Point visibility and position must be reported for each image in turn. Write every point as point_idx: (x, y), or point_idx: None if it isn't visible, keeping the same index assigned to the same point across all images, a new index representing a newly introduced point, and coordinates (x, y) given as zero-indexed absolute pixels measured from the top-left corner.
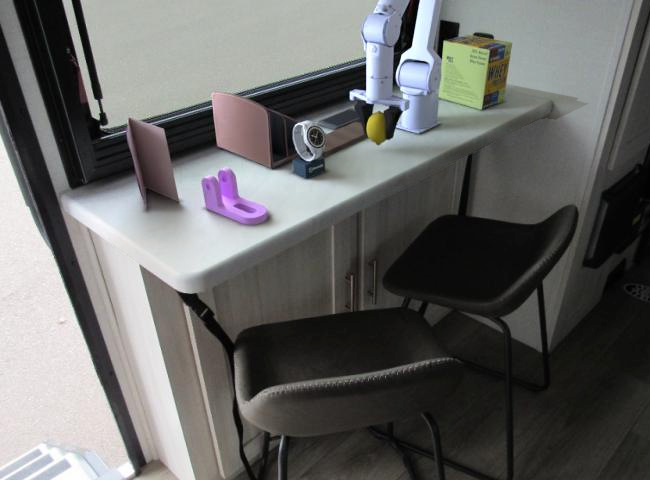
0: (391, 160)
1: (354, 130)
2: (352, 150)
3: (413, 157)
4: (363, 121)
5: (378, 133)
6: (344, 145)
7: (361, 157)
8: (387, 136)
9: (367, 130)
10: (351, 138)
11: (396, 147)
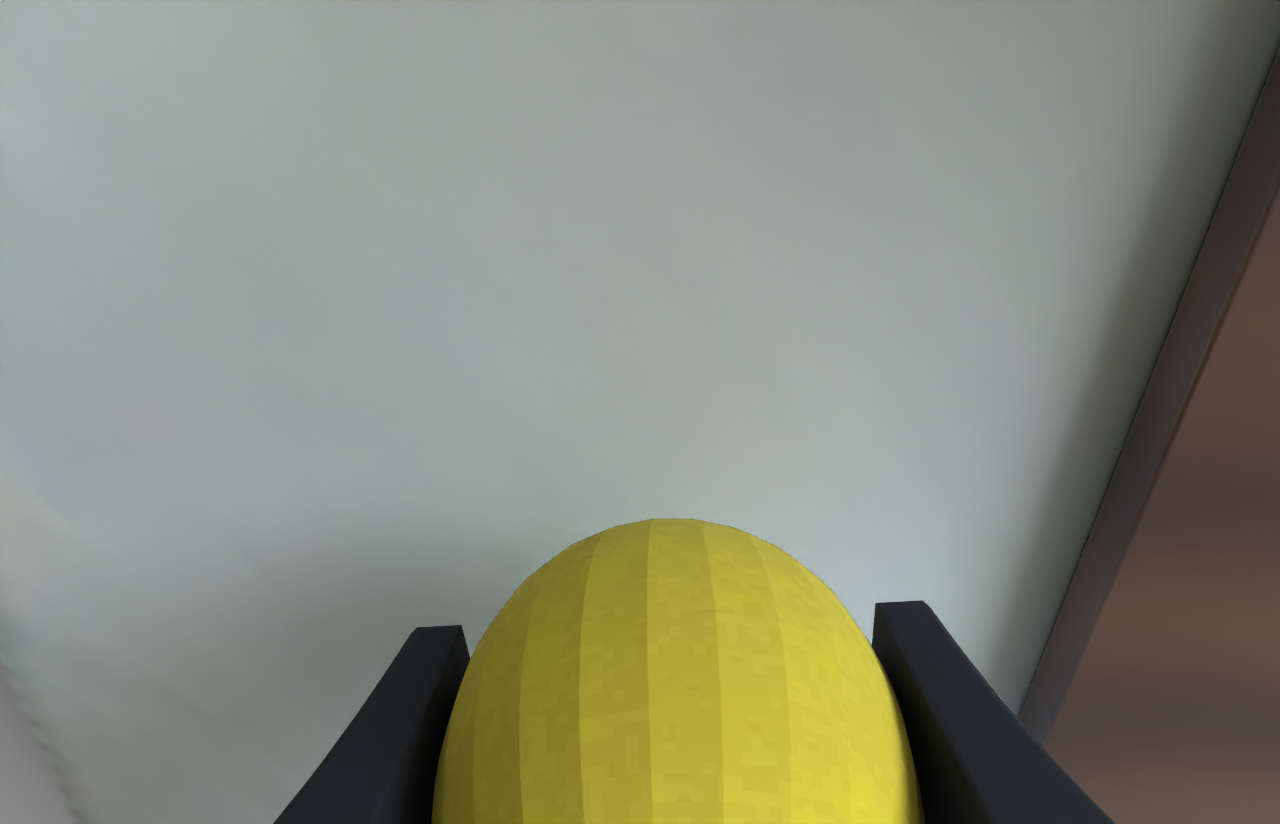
0: (277, 352)
1: (1240, 732)
2: (994, 305)
3: (164, 568)
4: (1005, 804)
5: (527, 638)
6: (1187, 335)
7: (710, 172)
8: (406, 666)
9: (815, 635)
10: (1172, 544)
11: None
